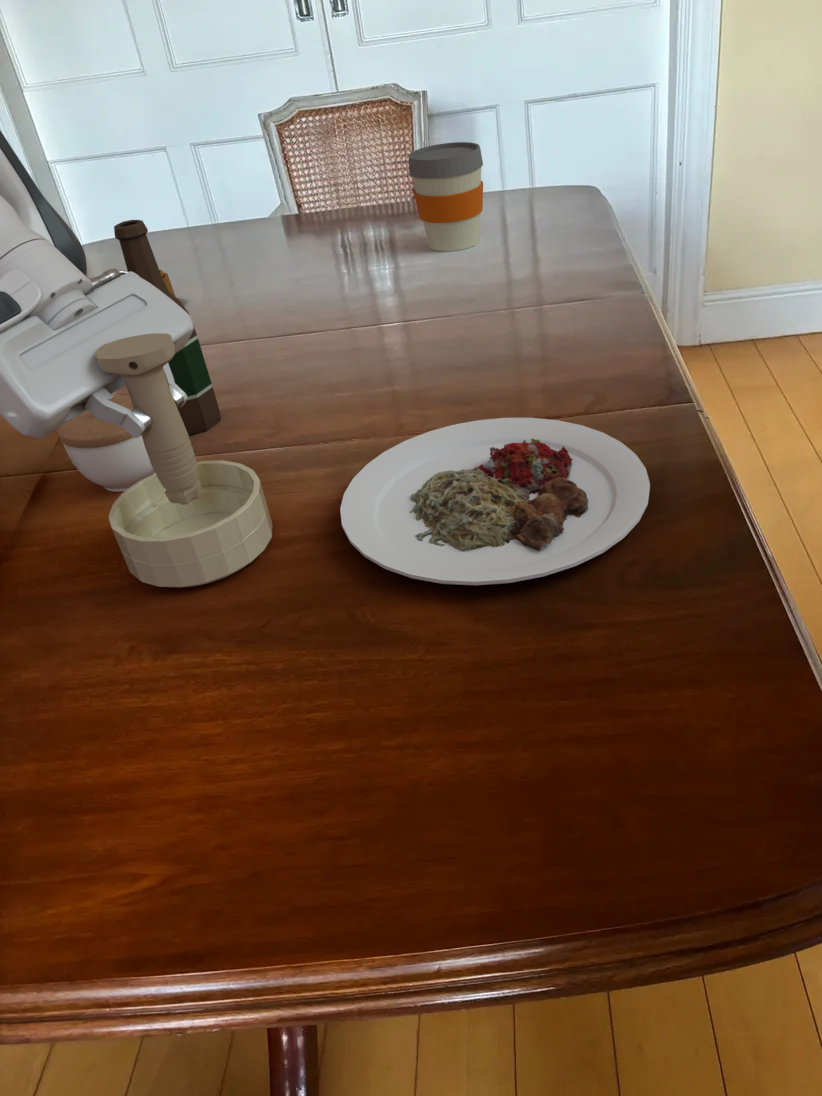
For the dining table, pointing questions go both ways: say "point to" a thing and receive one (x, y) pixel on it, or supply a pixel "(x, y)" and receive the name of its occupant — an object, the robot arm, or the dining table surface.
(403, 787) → the dining table surface
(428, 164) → the reusable coffee cup
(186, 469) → the handle
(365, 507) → the plated food
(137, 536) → the bowl
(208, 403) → the beer bottle
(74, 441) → the trinket box
